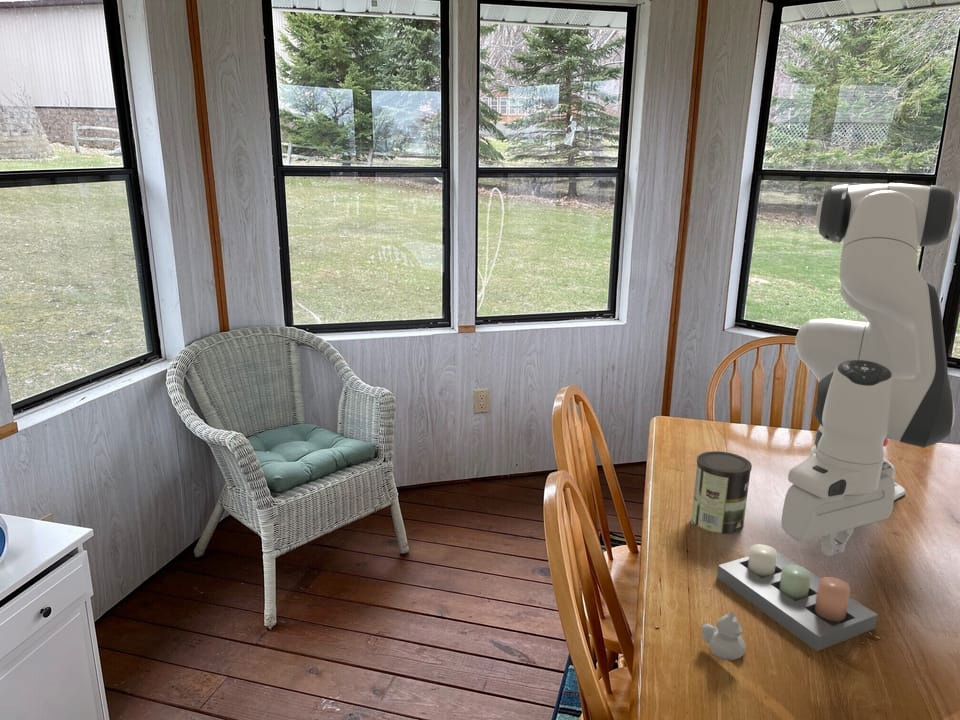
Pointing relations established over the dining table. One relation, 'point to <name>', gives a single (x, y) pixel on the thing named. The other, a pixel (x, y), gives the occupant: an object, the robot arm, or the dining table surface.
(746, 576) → the grey rectangular tray
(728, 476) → the coffee can
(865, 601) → the dining table surface
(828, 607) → the terracotta button
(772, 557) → the ivory button
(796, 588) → the sage button
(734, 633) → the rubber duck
